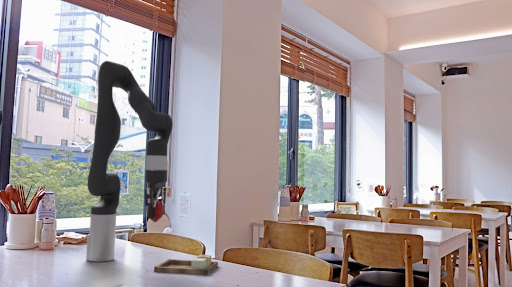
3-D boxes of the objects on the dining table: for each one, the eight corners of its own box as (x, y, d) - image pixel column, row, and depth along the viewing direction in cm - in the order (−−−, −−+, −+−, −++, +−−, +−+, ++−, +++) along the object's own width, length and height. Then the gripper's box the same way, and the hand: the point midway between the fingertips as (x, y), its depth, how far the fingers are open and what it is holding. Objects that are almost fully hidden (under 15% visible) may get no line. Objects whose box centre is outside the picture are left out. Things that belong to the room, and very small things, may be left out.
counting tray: (153, 276, 141) (154, 266, 141) (168, 267, 153) (168, 259, 154) (207, 279, 138) (207, 270, 138) (217, 270, 150) (217, 262, 151)
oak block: (196, 268, 146) (196, 256, 146) (199, 266, 150) (200, 254, 150) (208, 269, 145) (208, 257, 146) (211, 266, 149) (211, 255, 150)
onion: (159, 223, 146) (160, 199, 147) (143, 222, 148) (144, 199, 148) (166, 221, 152) (166, 198, 153) (151, 221, 153) (151, 198, 154)
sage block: (191, 272, 140) (191, 260, 140) (194, 270, 144) (195, 257, 144) (202, 273, 140) (203, 260, 140) (206, 270, 143) (206, 258, 144)
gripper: (154, 169, 159) (153, 215, 158) (137, 168, 145) (136, 219, 143) (174, 169, 158) (172, 216, 156) (158, 168, 143) (157, 220, 142)
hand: (155, 217), depth 150 cm, fingers closed on onion, 6 cm apart
